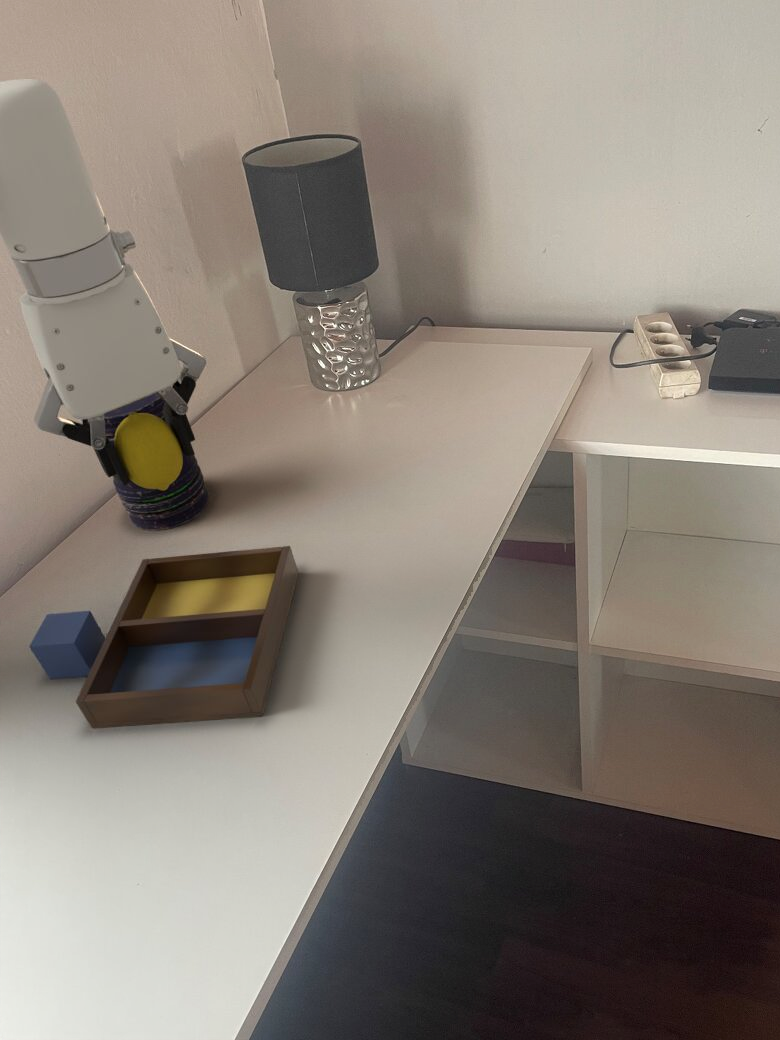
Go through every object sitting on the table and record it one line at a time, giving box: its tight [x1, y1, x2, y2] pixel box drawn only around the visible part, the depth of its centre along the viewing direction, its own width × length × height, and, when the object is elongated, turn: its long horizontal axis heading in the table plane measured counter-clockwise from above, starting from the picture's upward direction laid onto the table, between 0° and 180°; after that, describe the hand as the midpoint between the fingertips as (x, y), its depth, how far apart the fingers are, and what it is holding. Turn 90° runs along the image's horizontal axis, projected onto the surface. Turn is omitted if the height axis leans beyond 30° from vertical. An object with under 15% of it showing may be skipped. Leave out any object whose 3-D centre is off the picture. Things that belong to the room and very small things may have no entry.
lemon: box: [114, 412, 183, 491], centre depth 78 cm, size 6×6×8 cm
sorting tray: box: [75, 545, 300, 729], centre depth 84 cm, size 16×20×4 cm
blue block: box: [29, 610, 106, 680], centre depth 84 cm, size 4×4×4 cm
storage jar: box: [104, 393, 210, 532], centre depth 100 cm, size 10×10×15 cm
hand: (153, 463), depth 79 cm, fingers closed on lemon, 5 cm apart
